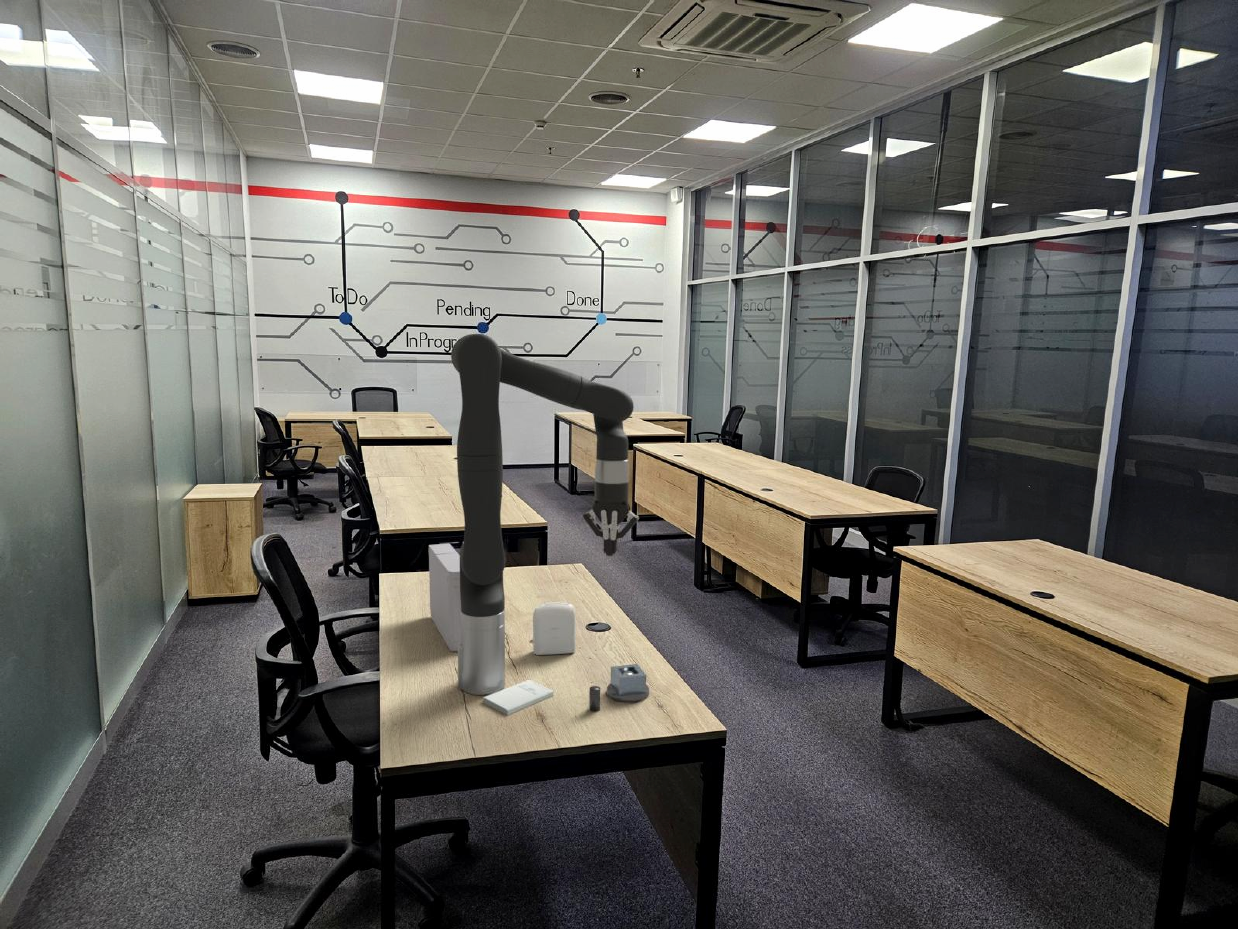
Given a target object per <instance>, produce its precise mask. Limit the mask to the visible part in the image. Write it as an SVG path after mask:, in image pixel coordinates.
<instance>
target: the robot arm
mask: <svg viewBox="0 0 1238 929" xmlns="http://www.w3.org/2000/svg"><path fill="white" fill-rule="evenodd" d="M499 346H500V345H498V343H497V342H496V340H495V339H493V338H492V337H491V336H489V335H487V334H484V333H470V334H467V335H464V336H462V337H461V338H459V339H458V340H457V341H456V342H455V343H454V344H453V346H452V348H451V351H450V352H451V353H450V358H451V363H452V365H453V367H454V369H455V370H456V372H457V373H458V375H459V379H460V380H459V382H460V389H461V390H460V391H461V414H460V420H459V425H458V426H459V427H458V432H457V433H458V434H457V442H456V464H457V465H456V467H457V470H456V471H457V480H458V487H459V488H458V489H459V494H460V500H461V506H462V510H463V517H464V533H463V534H464V535H463V536H464V537H463V543H462V545H461V547H460V549H459V550H460V551H459V555H460V599H461V644H460V645H459V646H458V651H457V688H458V690H463V692H466V693H468V694H471V695H478V696H479V695H481V696H483V695H491V694H493V693H496V692H498V691H501V690H503V689H505V688H504V687H505V686H506V648H505V647H506V645H505V644H506V643H505V641H506V635H505V634H506V626H505V624H506V623H505V622H506V620H505V619H506V618H505V616H506V615H505V614H506V613H505V612H506V611H505V609H506V608H505V607H506V606H505V604H506V601H505V600H506V598H505V590H504V588H505V587H504V570H505V568H506V563H507V562H506V561H507V558H506V553H505V549H504V541H503V540H504V539H503V534H502V523H501V522H502V521H501V518H502V517H501V514H502V512H501V511H502V498H503V481H504V480H503V475H504V474H503V473H504V470H503V469H504V468H503V467H504V464H503V441H502V425H501V417H500V406H499V404H500V403H499V401H500V399H499V398H500V387H501V386H500V385H501V384H505V385H508V386H511V387H515V388H516V389H517V388H518V389H521V390H523V391H526V392H528V393H531V394H534V395H536V396H538V397H541V398H543V399H546V400H548V401H551V402H554V403H556V404H560V405H562V406H565V407H568V408H571V409H575V410H580V411H585V412H587V413H590V414H592V415H593V423H594V430H595V434H596V459H595V466H594V503H593V504H592V507H591V509H590V510H588V511H586V512H585V513H584V514H583V516H582V517H583V520H585V522H586V523H587V524H588V526H589V528H590V529H591V530H592V532H593V533H594V534H595V536H596V537H600V538H602V539H603V553H604V554H605V555H606V556H607V557H614V556H615V554H616V553H617V551H618V540H619V539H623V538H624V537H626V534H628V532H629V531H630V530H631V529H632V528H633V527H634V526H635V524H636V523H637V522H638V521H639V519H640V516H639V515H638V514H635V513H634V512H632V510H631V506H630V504H629V491H630V490H629V489H630V488H629V485H630V484H629V482H630V471H629V470H630V469H629V468H630V466H629V439H628V436H627V434H626V433H625V431H624V421H626V420H628V419H629V418H630V417H631V416H632V414H633V411H634V408H635V407H634V401H633V399H632V397H631V395H630V394H628V393H627V392H626V391H625V390H621V389H619V388H615V387H613V386H609V385H605V384H602V383H599V382H595V381H592V380H590V379H588V378H585V377H584V376H581V375H578V374H575V373H573V372H569V371H567V370H564V369H561V368H558V367H554V366H550V365H548V364H542V363H539V362H535V361H532V360H529V359H526V358H523V357H520V356H517V355H515V354H513V353H510V352H508V351H505V349H502V348H500V347H499ZM596 518H597V519H598V520H599V522H600V523H601V525H600V524H599V522H598V520H596ZM625 518H626V521H627V524H626V525H625V526H624V527H623V529H621V531H619V530H620V528H621V527H620V525H621V523H622V522H623V521H624V520H625Z"/></svg>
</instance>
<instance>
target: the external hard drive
mask: <svg viewBox="0 0 1238 929" xmlns="http://www.w3.org/2000/svg"><path fill="white" fill-rule="evenodd" d="M554 694H555V693H554V690H552V689H551V688H548V687H546V686H544V685H541V684H540V683H537V682H536V681H533V680H532V679H527V680H524V681H522V682H519V683H517V684H514V685H512V686H509V687H506V688H503V689H501V690H500V691H498V692H495V693H491V694H487V695H486V696H483V697H482V703H483V704H485V705H487V706H489V707H491V708H493V709H495V710H497V711H499V712H501V713H502V714H505V715H507V716H509V715H512V714H514V713H517V712H519V711H521V710H524V709H526V708H528V707H530V706H532V705H533V706H534V705H535V704H537V703H539V702H542V701H544V700H547V699H549V698H552V697H553V696H554Z"/></svg>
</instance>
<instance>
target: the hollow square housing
mask: <svg viewBox="0 0 1238 929" xmlns="http://www.w3.org/2000/svg"><path fill="white" fill-rule="evenodd" d="M625 671H632V672H633V674H630V675H623V672H625ZM610 683H611V686H612V687H613V689H614V690H615V692H616V693H617V694H618V696H626V695H634V694H642V693H646V685H647V674H646V673H645V672H644V671H643V669H642V667H640V666H639V664H638V663H634V664H633V663H632V664H626V665H624V664H623V665H616V666H615V665H614V666H610Z"/></svg>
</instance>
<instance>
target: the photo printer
mask: <svg viewBox="0 0 1238 929" xmlns="http://www.w3.org/2000/svg"><path fill="white" fill-rule="evenodd" d="M532 642H533V643H532V647H533V651H532V652H533V654H534V655H535V654H536V656H539V655H540V656H543V655H544V656H545V655H547V656H548V655H549V656H550V655H563V654H565V655H566V654H573V653H575V652H576V611H575V607H574V604H570V603H566V602H557V601H556V602H553V601H552V602H547V603H543V604H542V603H541V604H539V605H537V606H535V607H534V610H533V615H532Z"/></svg>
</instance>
